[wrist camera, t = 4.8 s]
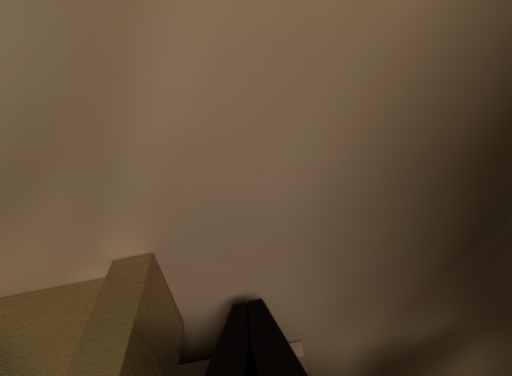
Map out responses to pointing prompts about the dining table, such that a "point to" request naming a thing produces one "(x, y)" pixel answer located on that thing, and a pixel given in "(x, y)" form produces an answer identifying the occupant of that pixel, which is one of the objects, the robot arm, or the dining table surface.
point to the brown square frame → (195, 371)
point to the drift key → (94, 326)
